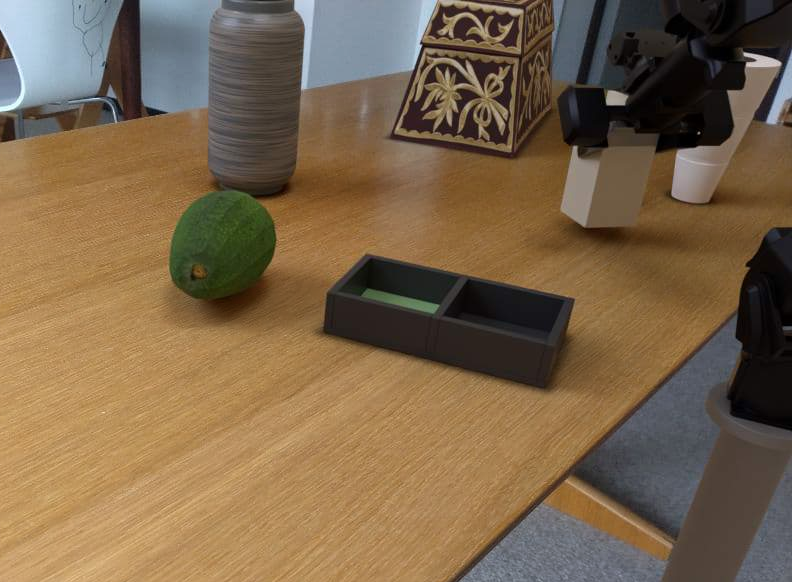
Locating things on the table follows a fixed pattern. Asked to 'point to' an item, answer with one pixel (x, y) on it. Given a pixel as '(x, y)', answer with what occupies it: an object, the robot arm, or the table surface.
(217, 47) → the vase
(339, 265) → the table surface
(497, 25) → the decorative box
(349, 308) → the tray
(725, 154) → the cup
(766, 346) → the robot arm
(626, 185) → the milk carton
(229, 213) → the fruit
